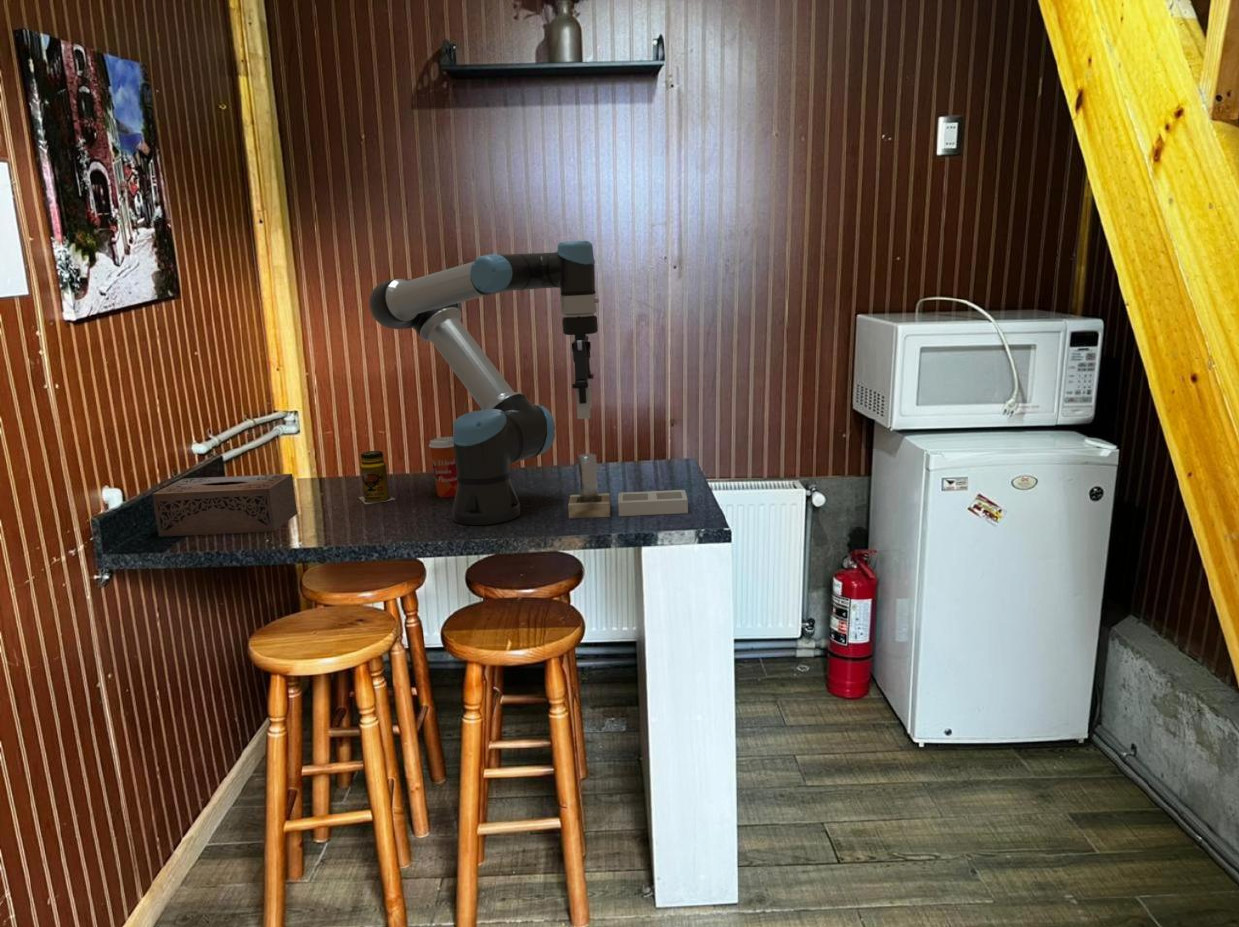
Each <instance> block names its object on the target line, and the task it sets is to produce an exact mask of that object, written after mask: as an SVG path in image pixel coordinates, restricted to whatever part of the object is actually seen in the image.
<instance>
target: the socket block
mask: <svg viewBox="0 0 1239 927" xmlns="http://www.w3.org/2000/svg"><path fill="white" fill-rule="evenodd" d="M598 501H599V502H587V503H581V499H580V494H570V495H569V499H568V504H567V506H568V507H567V508H568V519H585V518H586V519H589V518H590V519H591V518H610V517H611V494H610V493H607V492H606V493H598Z"/></svg>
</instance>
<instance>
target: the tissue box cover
mask: <svg viewBox="0 0 1239 927" xmlns="http://www.w3.org/2000/svg"><path fill="white" fill-rule="evenodd" d="M151 496H152V503H153V510H154V514H155V521H156V527H157V535H158V537H161V538H162V537H178V536H180V537H181V536H182V537H183V536H202V535H203V536H204V535H205V536H206V535H218V534H219V535H221V534H222V535H223V534H244V533H267V532H276V531H277V530H279V528H281V527H282V526H284V525H285V524H286V523H287V522H289V521H290V520H291V519H292V518H293V517H294V516H296V515H297V514H298V508H297V501H296V492H295V486H294V477H293V473H278V474H277V473H274V474H255V475H238V476H237V475H235V476H232V475H231V476H230V475H229V476H214V477H213V476H212V477H211V476H210V477H209V476H207V477H190V478H189V477H187V478H182V479H179V480H178V481H175V482H174V483H171V484H169V485H168V486H165V487H164V488H161V489H159V490H158V491H155V492H153V493H152V494H151Z"/></svg>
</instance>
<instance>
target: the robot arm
mask: <svg viewBox="0 0 1239 927" xmlns="http://www.w3.org/2000/svg"><path fill="white" fill-rule="evenodd" d="M595 263H596V261H595V258H594V249H593V244H592V242H591V241H588V240H576V241H572V240H571V241H563V242H562V241H560V242H559V243H558V244H557V251H556V252H539V253H538V252H537V253H536V252H531V253H528V252H527V253H514V254H512V253H511V254H496V253H490V254H486V255H485V254H484V255H479V256H478V257H476V258H475V260H474V261H471V262H467V263H465V264H460V265H457V266H454V267H450V268H447V269H444V270H440V271H437V272H433V273H431V274H427V275H424V276H420V277H417V278H413V279H412V278H410V279H409V278H405V279H403V278H397V279H390V280H386V281H383V282H381V283H379V284H377V285H376V286H375V287H374V288H373V290H372V291H371V293H370V296H369V300H368V304H369V306H368V307H369V310H370V313H371V316H372V317H373V318H374V319H375V321H376V322H377V323H378V324H379V325H381V326H383V327H385V328H387V329H391V330H392V329H393V330H405V329H413V330H415V332H416V334H417V335H418V336H419V338H420V339H421V340H422V341H424V342H429V343H432V344H433V346H434V347H435V349H436V350H437V352H439V354H440V355H441V356H442V359H444V361H445V362H446V364H447V365H448V366H449V367H450V369H451V370H452V371H453V373H454V374H455V375H456V377H457V378H458V380H460V382H461V383H462V385H463V386H464V387H465V389H466V390H467V391H468V393H469V394H470V395H471V397H472V398H473V399H474V401H475V402H476V404H477V405H478V406H479V408H480V410H474V411H471V412H467V413H464V414H462V415H459V417H457V418H456V419H455V421H454V422H453V426H452V427H453V428H452V430H453V434H452V435H453V436H452V437H453V442H454V450H455V459H456V469H457V480H458V487H457V491H456V495H455V496H454V500H453V505H452V509H451V511H452V512H451V513H452V521H453V522H455V523H458V524H461V525H469V526H485V525H486V526H487V525H495V524H501V523H505V522H508V521H511V520H514V519H516V518H518V517H520V515H521V504H520V500H519V499H518V496H517V494H516V491H515V489H514V486H513V484H512V482H511V476H510V475H511V473H510V472H511V471H510V464H514V463H516V462H517V463H518V462H520V461H523V460H528V459H533V458H536V457H538V456H539V455H542V454H544V453H546V452H547V451H548V450H550V448H551V447H552V445H553V443H554V442H555V436H556V432H555V431H556V423H555V420H554V417H553V415H552V413H551V412H550V410H549V409H547V408H546V407H545V406H543V405H538V404H532V402H531V401H530V400H529V399H528V398H527V397H526V395H525V394H524V393H522V392H516V391H514V390H513V388H512V387H511V386H510V384H508V382H507V380H506V379H505V377H503V375H502V374H501V373H500V371H499V370H498V369H497V368H496V366H495V364H494V363H492V361H491V360H490V358H489V357H488V356H487V354H486V353H485V352H484V350H483V348H481V346H480V345H479V344H478V343H477V341H476V340H475V339H474V337H473V336H472V335H471V333H470V332H469V330H468V329H467V328H466V327H465V325H464V324H463V323H462V322H461V319H462V315H463V314H462V310H461V308H462V306H461V305H462V304H461V303H463V302H467V301H471V300H475V299H478V298H482V297H486V296H491V295H495V294H496V295H497V294H499V293H505V292H512V291H522V290H538V289H554V288H555V289H556V288H557V289H559V290H560V309H561V315H563V317H562V319H561V322H562V324H561V325H562V334H564V335H565V336H574V340H573V342H572V343H571V351H572V358H573V359H572V360H573V362H574V375H575V376H574V381H575V382H574V383H572V386H571V387H572V389H575V398H576V399H575V401H576V402H575V403H576V414H577V420H584V419H585V420H587V419H591V409H593V395H592V380H593V379H594V373H592V372H591V368H590V366H591V365H590V364H591V362H590V358H591V346H592V344H591V343H592V342H591V341H589V336H588V335H592V334H596V333H598V331H599V330H598V328H599V327H598V326H599V325H598V316H597V315H595V313H597V311H598V310H597V305H596V304H599V303H600V298H596V284H595V283H596V277H595V275H596V274H595V273H596V270H595V269H596V268H595V267H596V266H595Z"/></svg>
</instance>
